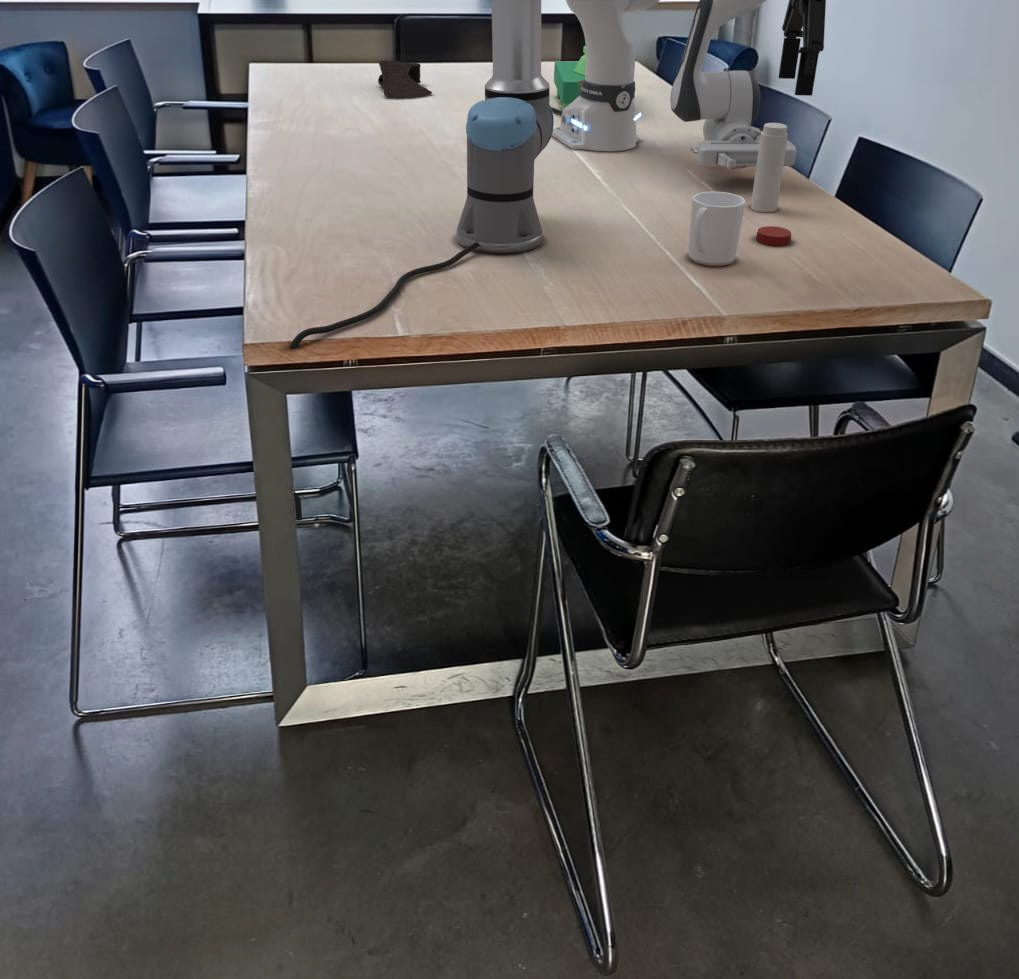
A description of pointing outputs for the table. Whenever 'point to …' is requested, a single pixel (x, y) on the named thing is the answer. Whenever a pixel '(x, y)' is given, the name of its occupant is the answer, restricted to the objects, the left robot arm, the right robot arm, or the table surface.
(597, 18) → the right robot arm
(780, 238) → the lid
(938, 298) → the table surface
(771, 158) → the jar
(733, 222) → the mug
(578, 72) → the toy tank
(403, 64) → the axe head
